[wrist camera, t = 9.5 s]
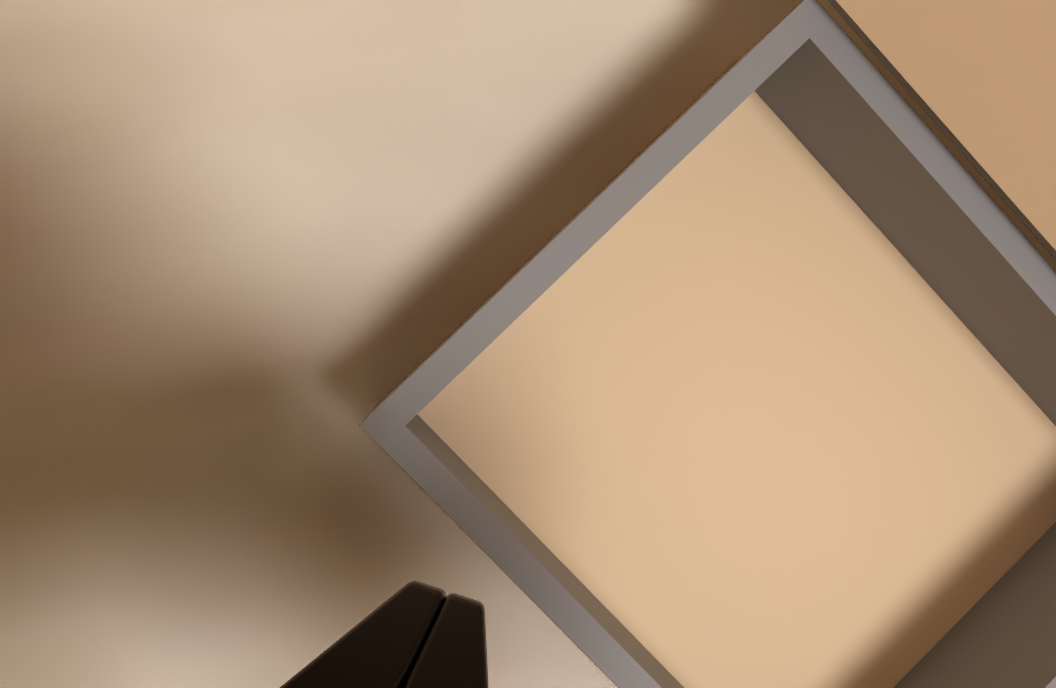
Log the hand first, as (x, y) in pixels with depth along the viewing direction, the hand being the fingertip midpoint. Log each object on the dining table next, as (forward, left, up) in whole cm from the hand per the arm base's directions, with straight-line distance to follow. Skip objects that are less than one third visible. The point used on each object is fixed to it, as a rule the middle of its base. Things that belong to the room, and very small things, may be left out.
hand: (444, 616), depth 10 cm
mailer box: (+1, -8, -11) cm, 13 cm away
